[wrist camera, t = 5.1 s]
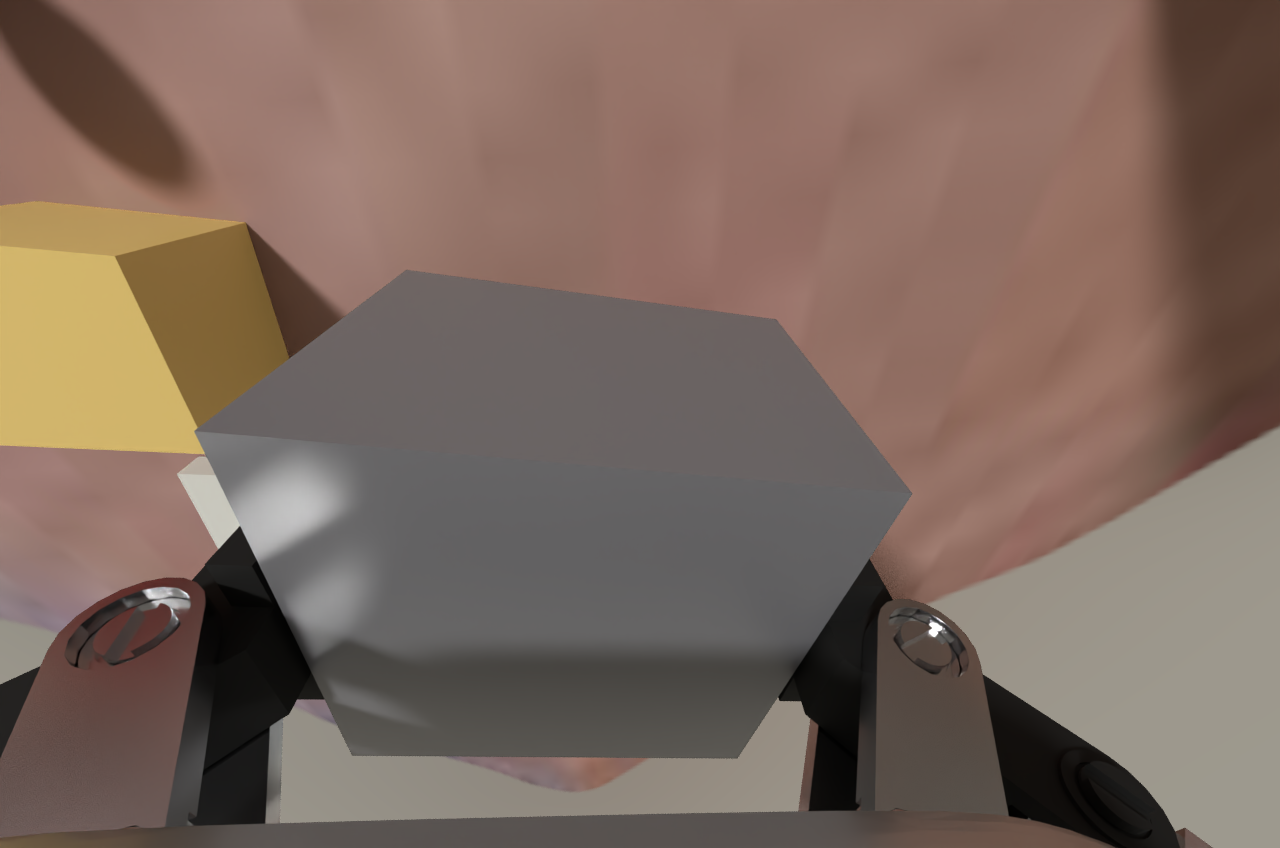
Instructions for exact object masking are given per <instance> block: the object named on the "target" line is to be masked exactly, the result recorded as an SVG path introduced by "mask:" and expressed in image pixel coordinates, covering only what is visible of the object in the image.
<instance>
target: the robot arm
mask: <svg viewBox="0 0 1280 848" xmlns="http://www.w3.org/2000/svg"><path fill="white" fill-rule="evenodd" d="M778 698H779V700H780V701H801V702H802V705H803V708H804V712H805V714H806V715H807V716H808V717H809V718H810V726H809V734H808V742H807V749H806V758H805V764H804V773H803V780H802V787H801V795H800V802H799V811H798V812H744V813H691V814H690V813H689V814H688V813H687V814H640V815H639V814H638V815H592V816H552V817H550V816H549V817H548V816H547V817H505V818H463V819H421V820H386V821H385V820H384V821H350V822H349V821H347V822H312V823H280V802H281V801H280V800H281V768H282V735H283V718H284V717H285V716H287V715H288V714H289V713H290V711H291V710H292V708H293V706H294V704H295V702H296V700H297V699H324V697H323V695H322V693H321V691H320V689H319V687H318V684H317V682H316V680H315V678H314V676H313V674H312V672H311V670H310V668H309V666H308V664H307V662H306V660H305V658H304V656H303V654H302V652H301V650H300V648H299V646H298V643H297V641H296V639H295V637H294V635H293V633H292V631H291V629H290V627H289V625H288V623H287V621H286V619H285V617H284V615H283V613H282V611H281V609H280V607H279V605H278V602H277V600H276V598H275V596H274V594H273V592H272V590H271V588H270V586H269V584H268V582H267V580H266V578H265V576H264V574H263V572H262V570H261V568H260V566H259V563H258V561H257V559H256V557H255V555H254V553H253V551H252V549H251V547H250V545H249V543H248V541H247V539H246V537H245V535H244V533H243V531H242V529H241V527H240V526H239V527H238V528H237V529H236V531H235V532H234V533H233V534H232V535H231V536H230V537H229V538H228V539H227V540H226V542H225V543H224V544H223V545H222V546H221V547H220V548H219V549H218V550H217V552H216V553H215V554H214V555H213V556H212V557H211V558H210V559H209V560H208V561H207V563H206V564H205V566H204V567H203V569H202V570H201V571H200V572H199V573H198V574H197V575H196V576H195V577H194V579H193V580H192V581H191V580H188V579H185V578H162V579H156V580H151V581H145V582H142V583H139V584H136V585H134V586H131V587H128V588H125V589H122V590H120V591H118V592H116V593H114V594H112V595H110V596H108V597H106V598H104V599H102V600H100V601H98V602H97V603H95V604H94V605H92V606H91V607H89V608H88V609H86V610H85V611H83V612H82V613H81V614H79V615H78V616H76V617H75V618H74V619H73V620H72V621H71V622H70V623H69V624H68V625H67V626H66V627H65V628H64V629H63V630H62V631H61V632H59V634H58V635H57V637H56V638H55V640H54V641H53V643H52V644H51V646H50V647H49V649H48V651H47V653H46V655H45V658H44V660H43V662H42V664H41V666H40V667H38V668H35V669H33V670H31V671H29V672H27V673H24V674H22V675H20V676H18V677H16V678H13V679H11V680H9V681H7V682H5V683H3V684H0V848H1212V847H1211V846H1210V845H1208V844H1207V843H1206V842H1204V841H1203V840H1201V839H1200V838H1199V837H1197V836H1196V835H1195V834H1193V833H1192V832H1190V831H1189V830H1188V829H1186V828H1183V829H1181V830H1178V831H1176V832H1175V831H1174V829H1173V827H1172V825H1171V823H1170V822H1169V820H1168V818H1167V816H1166V814H1165V813H1164V811H1163V809H1162V808H1161V807H1160V806H1159V804H1158V803H1157V802H1156V801H1155V799H1154V798H1153V797H1152V795H1151V794H1150V793H1149V792H1148V790H1147V789H1146V788H1145V787H1144V786H1143V785H1142V784H1141V783H1139V781H1138V780H1137V779H1135V777H1134V776H1133V775H1131V774H1130V773H1129V772H1128V771H1127V770H1126V769H1125V768H1123V767H1122V766H1120V765H1119V764H1118V763H1117V762H1115V761H1114V760H1113V759H1111V758H1110V757H1109V756H1107V755H1106V754H1104V753H1103V752H1101V751H1100V750H1098V749H1097V748H1095V747H1094V746H1092V745H1091V744H1089V743H1087V742H1086V741H1084V740H1083V739H1081V738H1080V737H1078V736H1077V735H1075V734H1073V733H1072V732H1070V731H1069V730H1068V729H1066V728H1064V727H1063V726H1061V725H1060V724H1058V723H1057V722H1055V721H1054V720H1052V719H1051V718H1049V717H1048V716H1046V715H1044V714H1043V713H1041V712H1040V711H1038V710H1037V709H1035V708H1034V707H1032V706H1031V705H1029V704H1028V703H1026V702H1024V701H1023V700H1021V699H1020V698H1018V697H1017V696H1015V695H1014V694H1012V693H1011V692H1009V691H1007V690H1006V689H1004V688H1003V687H1001V686H1000V685H998V684H997V683H995V682H994V681H992V680H991V679H989V678H987V677H986V676H984V675H983V674H982V670H981V665H980V661H979V658H978V655H977V652H976V649H975V648H974V646H973V645H972V643H971V642H970V640H969V639H968V637H967V636H966V634H965V633H964V632H963V631H962V630H961V629H960V628H959V627H958V626H957V625H956V624H955V623H954V622H953V621H951V620H950V619H949V618H948V617H946V616H945V615H944V614H942V613H941V612H939V611H938V610H936V609H934V608H932V607H930V606H928V605H926V604H924V603H920V602H917V601H914V600H910V599H895V600H893V599H892V597H891V596H890V594H889V592H888V590H887V589H886V587H885V585H884V583H883V582H882V580H881V578H880V576H879V575H878V573H877V571H876V570H875V568H874V566H873V564H872V563H871V561H870V559H869V560H868V562H867V563H866V565H865V566H864V568H863V569H862V571H861V572H860V574H859V575H858V577H857V578H856V580H855V581H854V583H853V584H852V586H851V587H850V589H849V590H848V592H847V593H846V595H845V596H844V598H843V599H842V601H841V602H840V604H839V605H838V607H837V608H836V610H835V611H834V613H833V614H832V616H831V617H830V619H829V621H828V622H827V624H826V625H825V627H824V628H823V630H822V631H821V633H820V634H819V636H818V637H817V639H816V640H815V642H814V643H813V645H812V646H811V648H810V649H809V651H808V652H807V654H806V655H805V657H804V658H803V660H802V661H801V663H800V664H799V666H798V667H797V669H796V670H795V672H794V673H793V675H792V676H791V678H790V680H789V681H788V683H787V684H786V686H785V687H784V689H783V690H782V692H781V693H780V695H779V696H778Z"/></svg>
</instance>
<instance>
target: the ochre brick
mask: <svg viewBox="0 0 1280 848" xmlns="http://www.w3.org/2000/svg"><path fill="white" fill-rule="evenodd" d="M288 359H289V356H288V353H287V350H286V346H285V343H284V340H283V337H282V334H281V331H280V328H279V325H278V322H277V319H276V315H275V312H274V309H273V306H272V303H271V300H270V297H269V294H268V291H267V288H266V285H265V281H264V278H263V275H262V272H261V269H260V266H259V263H258V260H257V257H256V254H255V250H254V247H253V244H252V241H251V238H250V235H249V232H248V229H247V226H246V223H245V222H236V221H226V220H216V219H206V218H197V217H187V216H177V215H167V214H157V213H148V212H138V211H128V210H118V209H108V208H99V207H89V206H79V205H69V204H59V203H50V202H40V201H35V202H27V203H19V204H11V205H3V206H0V445H8V446H31V447H54V448H77V449H100V450H123V451H147V452H170V453H193V454H205V453H204V451H203V449H202V447H201V445H200V443H199V440H198V438H197V436H196V434H195V432H194V431H195V430H196V429H197V428H199V427H200V426H201V425H203V424H204V423H205V422H206V421H208V420H209V419H210V418H212V417H213V416H214V415H216V414H217V413H218V412H220V411H221V410H222V409H224V408H225V407H226V406H228V405H229V404H230V403H232V402H233V401H234V400H235V399H237V398H238V397H239V396H241V395H242V394H243V393H245V392H246V391H247V390H249V389H250V388H251V387H253V386H254V385H255V384H257V383H258V382H259V381H261V380H262V379H263V378H264V377H266V376H267V375H268V374H270V373H271V372H272V371H274V370H275V369H276V368H278V367H279V366H280V365H282V364H283V363H284V362H286V361H287V360H288Z"/></svg>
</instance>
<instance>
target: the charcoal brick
mask: <svg viewBox="0 0 1280 848" xmlns="http://www.w3.org/2000/svg"><path fill="white" fill-rule="evenodd" d="M194 432H195V434H196V436H197V438H198V440H199V443H200V445H201V447H202V449H203V451H204V453H205V455H206V457H207V459H208V461H209V463H210V465H211V467H212V469H213V471H214V473H215V475H216V477H217V479H218V481H219V484H220V486H221V488H222V490H223V492H224V494H225V496H226V498H227V500H228V502H229V504H230V506H231V508H232V510H233V512H234V514H235V516H236V518H237V520H238V522H239V525H240V527H241V529H242V531H243V533H244V535H245V537H246V539H247V541H248V543H249V545H250V547H251V549H252V551H253V553H254V555H255V557H256V559H257V561H258V563H259V566H260V568H261V570H262V572H263V574H264V576H265V578H266V580H267V582H268V584H269V586H270V588H271V590H272V592H273V594H274V596H275V598H276V600H277V602H278V605H279V607H280V609H281V611H282V613H283V615H284V617H285V619H286V621H287V623H288V625H289V627H290V629H291V631H292V633H293V635H294V637H295V639H296V641H297V643H298V646H299V648H300V650H301V652H302V654H303V656H304V658H305V660H306V662H307V664H308V666H309V668H310V670H311V672H312V674H313V676H314V678H315V680H316V682H317V684H318V687H319V689H320V691H321V693H322V695H323V697H324V699H325V701H326V703H327V705H328V707H329V709H330V711H331V713H332V715H333V717H334V719H335V721H336V723H337V725H338V728H339V730H340V732H341V734H342V736H343V738H344V740H345V742H346V744H347V746H348V748H349V750H350V752H351V754H352V755H353V756H477V757H609V758H738V757H739V755H740V754H741V752H742V750H743V749H744V747H745V746H746V744H747V743H748V742H749V740H750V739H751V737H752V735H753V734H754V732H755V731H756V729H757V728H758V726H759V725H760V723H761V722H762V720H763V719H764V717H765V716H766V714H767V713H768V711H769V710H770V708H771V707H772V705H773V704H774V702H775V701H776V699H777V698H778V696H779V695H780V693H781V692H782V690H783V689H784V687H785V686H786V684H787V683H788V681H789V680H790V678H791V676H792V675H793V673H794V672H795V670H796V669H797V667H798V666H799V664H800V663H801V661H802V660H803V658H804V657H805V655H806V654H807V652H808V651H809V649H810V648H811V646H812V645H813V643H814V642H815V640H816V639H817V637H818V636H819V634H820V633H821V631H822V630H823V628H824V627H825V625H826V624H827V622H828V621H829V619H830V617H831V616H832V614H833V613H834V611H835V610H836V608H837V607H838V605H839V604H840V602H841V601H842V599H843V598H844V596H845V595H846V593H847V592H848V590H849V589H850V587H851V586H852V584H853V583H854V581H855V580H856V578H857V577H858V575H859V574H860V572H861V571H862V569H863V568H864V566H865V565H866V563H867V562H868V560H869V558H870V557H871V555H872V554H873V552H874V551H875V549H876V548H877V546H878V545H879V543H880V542H881V540H882V539H883V537H884V536H885V534H886V533H887V531H888V530H889V528H890V527H891V525H892V524H893V522H894V521H895V519H896V518H897V516H898V515H899V513H900V512H901V510H902V509H903V507H904V506H905V504H906V503H907V501H908V500H909V498H910V496H911V495H912V493H911V491H910V490H909V489H908V487H907V486H906V485H905V484H904V482H903V481H902V480H901V478H900V477H899V476H898V475H897V473H896V472H895V471H894V469H893V468H892V467H891V466H890V464H889V463H888V462H887V461H886V459H885V458H884V457H883V455H882V454H881V453H880V452H879V450H878V449H877V448H876V446H875V445H874V444H873V443H872V441H871V440H870V439H869V437H868V436H867V435H866V434H865V432H864V431H863V430H862V429H861V427H860V426H859V425H858V423H857V422H856V421H855V420H854V418H853V417H852V416H851V414H850V413H849V412H848V411H847V409H846V408H845V407H844V405H843V404H842V403H841V402H840V400H839V399H838V398H837V397H836V395H835V394H834V393H833V391H832V390H831V389H830V388H829V386H828V385H827V384H826V382H825V381H824V380H823V379H822V377H821V376H820V375H819V373H818V372H817V371H816V370H815V368H814V367H813V366H812V364H811V363H810V362H809V361H808V359H807V358H806V357H805V356H804V354H803V353H802V352H801V350H800V349H799V348H798V347H797V345H796V344H795V343H794V341H793V340H792V339H791V338H790V336H789V335H788V334H787V332H786V331H785V330H784V329H783V327H782V326H781V325H780V324H779V322H778V321H777V320H776V319H769V318H762V317H754V316H747V315H739V314H732V313H724V312H717V311H709V310H702V309H695V308H687V307H680V306H672V305H665V304H657V303H650V302H642V301H635V300H627V299H620V298H612V297H605V296H597V295H590V294H582V293H575V292H567V291H560V290H552V289H545V288H538V287H530V286H523V285H515V284H508V283H500V282H493V281H485V280H478V279H470V278H463V277H455V276H448V275H440V274H433V273H425V272H418V271H410V270H406V271H404V272H403V273H402V274H400V275H399V276H398V277H396V278H395V279H394V280H392V281H391V282H390V283H388V284H387V285H386V286H384V287H383V288H382V289H380V290H379V291H378V292H377V293H375V294H374V295H373V296H371V297H370V298H369V299H367V300H366V301H365V302H363V303H362V304H361V305H359V306H358V307H357V308H355V309H354V310H353V311H351V312H350V313H349V314H348V315H346V316H345V317H344V318H342V319H341V320H340V321H338V322H337V323H336V324H334V325H333V326H332V327H330V328H329V329H328V330H326V331H325V332H324V333H322V334H321V335H320V336H319V337H317V338H316V339H315V340H313V341H312V342H311V343H309V344H308V345H307V346H305V347H304V348H303V349H301V350H300V351H299V352H297V353H296V354H295V355H293V356H292V357H291V358H290V359H288V360H287V361H286V362H284V363H283V364H282V365H280V366H279V367H278V368H276V369H275V370H274V371H272V372H271V373H270V374H268V375H267V376H266V377H264V378H263V379H262V380H261V381H259V382H258V383H257V384H255V385H254V386H253V387H251V388H250V389H249V390H247V391H246V392H245V393H243V394H242V395H241V396H239V397H238V398H237V399H235V400H234V401H233V402H232V403H230V404H229V405H228V406H226V407H225V408H224V409H222V410H221V411H220V412H218V413H217V414H216V415H214V416H213V417H212V418H210V419H209V420H208V421H206V422H205V423H204V424H203V425H201V426H200V427H199V428H197V429H196V430H195V431H194Z"/></svg>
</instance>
